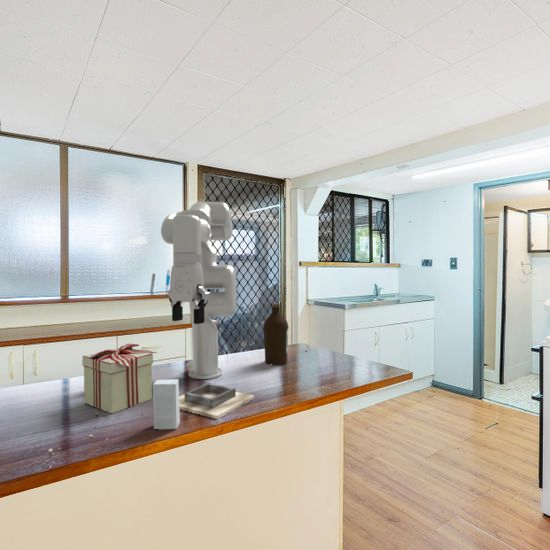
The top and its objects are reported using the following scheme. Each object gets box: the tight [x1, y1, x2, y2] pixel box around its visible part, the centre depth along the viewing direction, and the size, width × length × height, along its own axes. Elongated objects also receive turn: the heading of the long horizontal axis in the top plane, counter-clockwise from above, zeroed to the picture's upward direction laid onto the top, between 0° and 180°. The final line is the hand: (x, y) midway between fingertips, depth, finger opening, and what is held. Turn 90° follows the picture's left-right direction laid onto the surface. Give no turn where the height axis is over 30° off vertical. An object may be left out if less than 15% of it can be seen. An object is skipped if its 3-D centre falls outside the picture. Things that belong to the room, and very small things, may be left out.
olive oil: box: [263, 303, 289, 366], centre depth 163 cm, size 11×11×25 cm
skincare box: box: [152, 378, 181, 430], centre depth 101 cm, size 6×4×12 cm
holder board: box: [179, 382, 255, 420], centre depth 118 cm, size 20×18×4 cm
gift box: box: [81, 343, 157, 414], centre depth 119 cm, size 17×18×17 cm
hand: (188, 322), depth 106 cm, fingers open, 9 cm apart
